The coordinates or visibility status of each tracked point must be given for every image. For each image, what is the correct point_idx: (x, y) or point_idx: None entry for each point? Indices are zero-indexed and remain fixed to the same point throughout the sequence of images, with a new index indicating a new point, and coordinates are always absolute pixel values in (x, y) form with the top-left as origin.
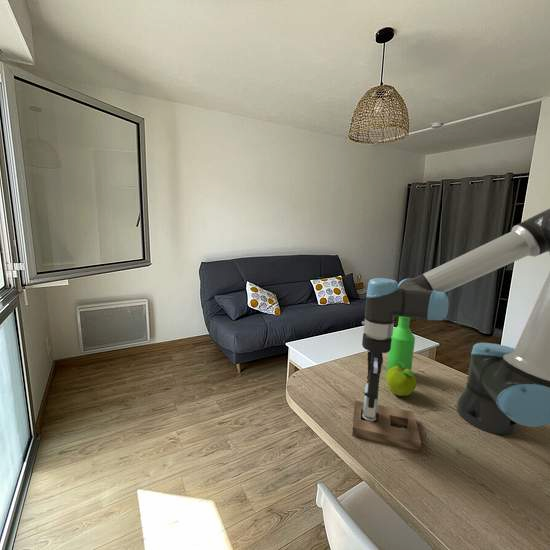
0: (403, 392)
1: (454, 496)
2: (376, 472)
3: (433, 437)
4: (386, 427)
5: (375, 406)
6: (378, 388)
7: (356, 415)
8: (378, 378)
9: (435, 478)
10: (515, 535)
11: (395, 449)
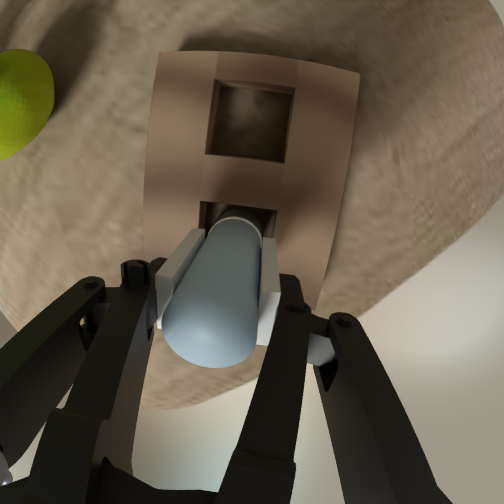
0: (51, 89)
1: (469, 78)
2: (436, 243)
3: (264, 15)
4: (297, 185)
5: (277, 263)
6: (226, 297)
7: None
8: (421, 461)
9: (438, 90)
10: (499, 33)
11: (357, 162)
